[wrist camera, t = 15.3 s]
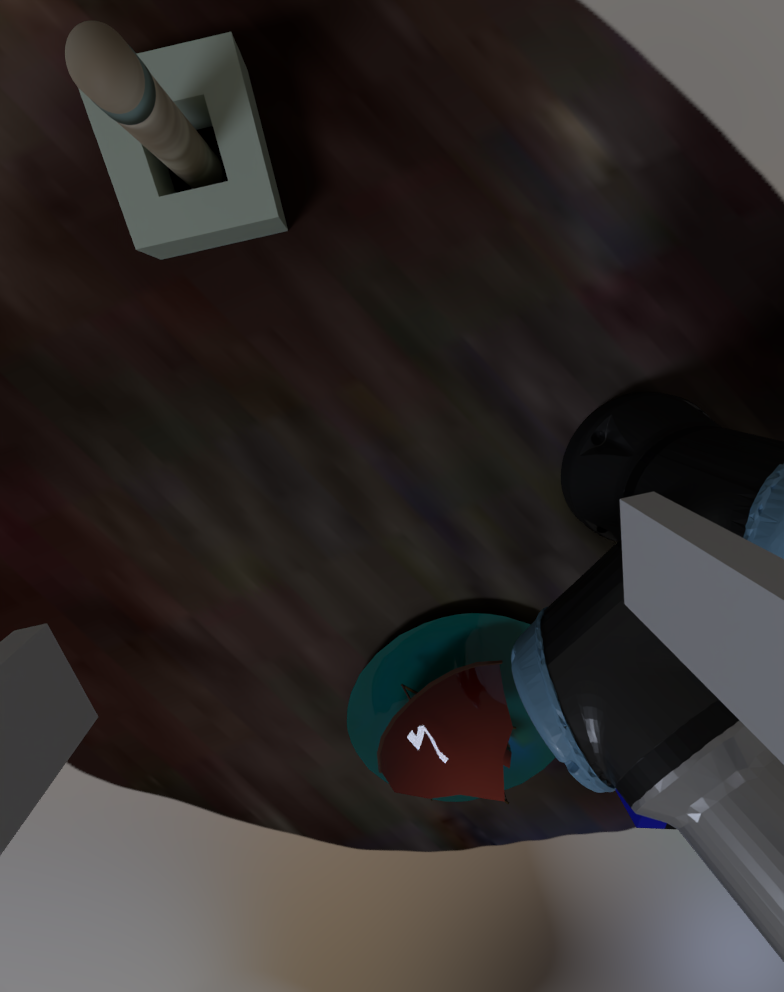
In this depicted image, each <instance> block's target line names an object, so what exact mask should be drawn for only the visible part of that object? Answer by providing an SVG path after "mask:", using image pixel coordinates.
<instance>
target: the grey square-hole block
mask: <svg viewBox="0 0 784 992" xmlns="http://www.w3.org/2000/svg"><path fill="white" fill-rule="evenodd" d="M137 55H138V57H139V58H140V59H141V60H142V62H143V63H144V64H145V65H146V67H147V68H148V70H149V72H150V73H151V74H152V76H153V77H154V78H155V79H156V81H157V82H158V83H159V84H160V86H161V87H162V88H163V89H164V91H165V92H166V93H167V94H168V96H169V97H170V98H171V99H172V101H173V102H174V103H175V104H176V106H177V107H178V108H179V109H180V111H181V112H182V113H183V114H184V116H185V117H186V118H187V119H188V121H189V122H190V123H191V124H192V126H193V127H194V128H195V129H196V130H198V129H202V128H207V127H211V126H213V129H214V132H215V136H216V139H217V143H218V146H219V150H220V153H221V157H222V160H223V164H224V168H225V171H226V175H227V178H228V181H226V182H222V183H217V184H213V185H209V186H204V187H200V188H195V189H191V190H187V191H182V192H178V193H176V192H175V189H174V186H173V183H172V180H171V176H170V173H169V170H168V167H167V166H166V165H165V164H164V163H163V162H162V161H160V160H159V159H158V158H157V157H156V156H155V155H154V154H153V153H151V152H150V151H149V150H148V149H147V148H146V147H145V146H143V145H142V144H141V143H140V142H139V141H138V140H137V139H135V138H134V137H133V136H132V135H131V134H130V133H129V132H128V131H126V130H125V129H124V128H123V127H122V126H121V125H120V124H118V123H117V122H116V121H115V120H113V119H112V118H110V117H109V116H108V115H107V114H106V113H105V112H103V111H102V110H101V109H100V108H99V107H98V106H97V105H95V104H94V103H93V102H92V100H91V99H90V98H89V97H88V96H87V95H85V94H84V93H83V92H82V91H81V90H80V89H79V91H80V94H81V97H82V100H83V102H84V105H85V108H86V111H87V114H88V116H89V119H90V122H91V125H92V128H93V131H94V133H95V136H96V139H97V142H98V145H99V147H100V150H101V153H102V156H103V159H104V161H105V164H106V167H107V170H108V173H109V175H110V178H111V181H112V184H113V187H114V190H115V192H116V195H117V198H118V201H119V204H120V206H121V209H122V212H123V215H124V218H125V220H126V223H127V226H128V229H129V232H130V234H131V237H132V240H133V243H134V246H135V249H136V250H138V251H141V252H143V253H146V254H148V255H151V256H153V257H156V258H158V259H161V260H162V259H166V258H171V257H175V256H179V255H184V254H188V253H193V252H197V251H201V250H206V249H210V248H214V247H219V246H223V245H228V244H232V243H236V242H241V241H245V240H250V239H254V238H258V237H263V236H267V235H272V234H276V233H280V232H285V231H288V228H287V224H286V220H285V216H284V212H283V208H282V204H281V201H280V197H279V193H278V189H277V185H276V181H275V177H274V173H273V169H272V165H271V161H270V157H269V153H268V149H267V145H266V141H265V137H264V133H263V129H262V125H261V121H260V117H259V113H258V110H257V106H256V102H255V98H254V94H253V90H252V86H251V82H250V78H249V74H248V70H247V68H246V65H245V63H244V61H243V58H242V56H241V54H240V51H239V49H238V47H237V44H236V42H235V40H234V37H233V35H232V33H231V32H228V33H224V34H219V35H215V36H211V37H207V38H202V39H198V40H194V41H189V42H185V43H181V44H177V45H172V46H168V47H164V48H159V49H155V50H151V51H147V52H142V53H138V54H137Z"/></svg>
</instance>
